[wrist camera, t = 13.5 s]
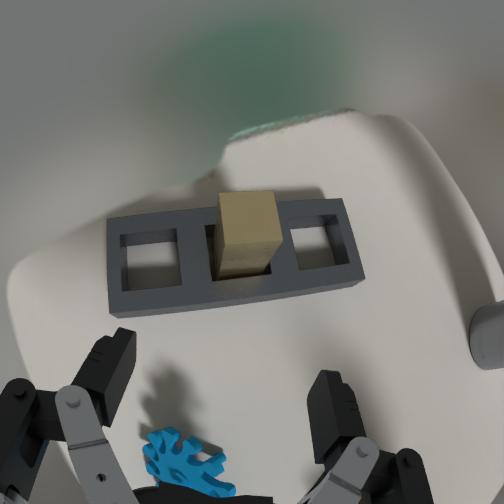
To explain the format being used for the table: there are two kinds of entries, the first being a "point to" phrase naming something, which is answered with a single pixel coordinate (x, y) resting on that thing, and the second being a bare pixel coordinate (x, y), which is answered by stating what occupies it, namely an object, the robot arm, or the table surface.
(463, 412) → the table surface
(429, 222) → the table surface
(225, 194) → the brass post
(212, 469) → the gear
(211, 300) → the grey flat frame block
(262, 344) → the table surface
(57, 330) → the table surface
